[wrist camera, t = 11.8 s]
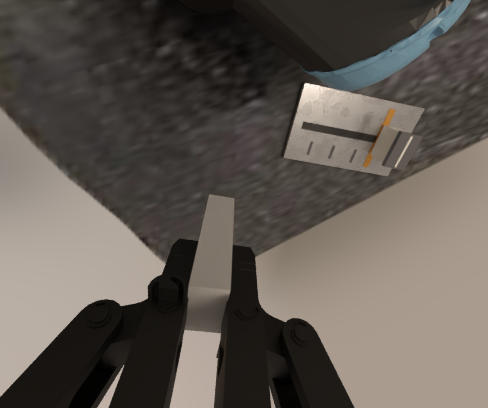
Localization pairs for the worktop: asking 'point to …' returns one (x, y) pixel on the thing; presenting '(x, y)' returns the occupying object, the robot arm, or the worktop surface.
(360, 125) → the panel
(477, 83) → the worktop surface
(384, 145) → the fader
